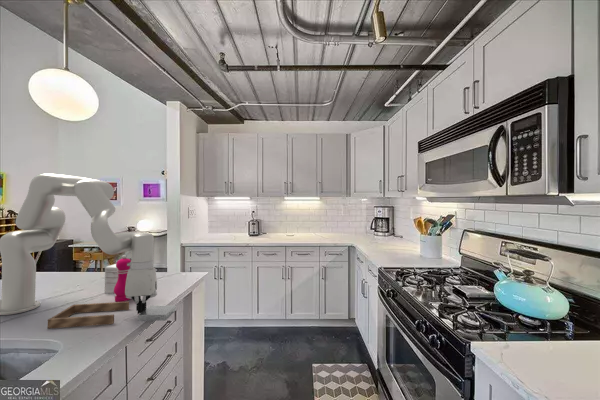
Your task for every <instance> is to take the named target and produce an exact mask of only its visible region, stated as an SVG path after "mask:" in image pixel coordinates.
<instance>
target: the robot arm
mask: <svg viewBox="0 0 600 400" xmlns="http://www.w3.org/2000/svg"><path fill="white" fill-rule="evenodd" d="M113 187H114V186H112V185H111V184H110V183H109V182H108V181H104V180H99V179H94V178H93V179H92V178H88V177H84V176H83V177H82V176H75V175H67V174H57V173H41V174H38V175H35V176H34V177H33V178H32V180H31V181H30V183H29V186H28V190H27V194H26V197H25V199H24V201H23V203H22V205H21V207H20V209H19V211H18V213H17V216H16V218H15V225H16V227H17V228H18V229H20V230H15V231H10V232H7V233H5V234H3V235H2V236H1V237H0V257H1V289H0V290H1V293H0V294H1V295H0V296H1V297H0V316H10V315H15V314H16V315H17V314H21V313H25V312H28V311H29V312H30V311H32V310H34V309H36V308H39V307H40V305H41V301H39V300H36V288H37V287H36V286H37V285H36V284H37V282H36V280H37V278H36V277H37V263H36V260H35V258H34V257H33V256H32V253H37V252H42V251H47V250H50V249H51V248H52V247H54V245H55V244H56V243H57V240H58V238H59V236H60V233H61V232H62V230H63V228H64V225H65V222H66V214H65V212H64V210H63V209H61V208H60V207H57V206H54V205H55V200H56V198H55V196H58V197H60V196H61V197H76V198H77V200H78V201H79V202H80V204H81V205H82V207H83V208H84V209H85V210H86V212H87V214H88V215H89V216H90V218H91V222H90V233H91V237H92V239H93V241H94V242H95V244H97V246H98V247H99V249H100V250H101V251H102V252H103V253H105V254H107V255H112V256H113V255H118V254H122V253H127V252H130V253H131V255H130V258H131V262H130V263H127V266H130V268H131V269H129V270H128V274H127V279H126V286H125V295H126V298H129V299H130V300H132V301H134V303H135V304H136V309H135V310H136V312H137V315H139V314H140V313H141V312H143V311H144V310H145V309H147V301H148V300H149V299H151V298H155V297H156V296H157V295H158V292H157V289H158V281H157V280H158V279H157V278H158V277H157V271H156V268H155V267H154V250H155V249H154V247H155V246H154V245H155V240H154V238H155V237H154V235H153V234H152V233H149V232H148V233H147V232H146V233H145V232H144V233H143V232H141V233H139V232H133V231H128V232H119V233H114V231H113V230H112V228H111V227H110V225H109V223H108V220H109V218H110V217H112V216H113V215H114V214H115V212H116V207H115V205H114V204H113V203H112V201H111V199H112V198H113V197H114V195H115V190H114V188H113Z"/></svg>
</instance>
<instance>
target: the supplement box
mask: <svg viewBox="0 0 600 400" xmlns="http://www.w3.org/2000/svg"><path fill="white" fill-rule="evenodd" d="M117 270H118V268H117V267H116V263H114V264H111V265H107V266H105V267H104V294H114V287H115V285H116V283H117V281H118V273H117Z"/></svg>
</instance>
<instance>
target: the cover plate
mask: <svg viewBox="0 0 600 400" xmlns="http://www.w3.org/2000/svg"><path fill="white" fill-rule="evenodd" d="M176 309H177V306H176V305H150V306H148V307H146V309H145V310H144V311H143V312H141V313H139V314H137V321H138V322H142V321H143V322H144V321H145V322H146V321H147V322H150V321H151V322H153V321H162V322H163V321H166V320H168V319H169V318H170V317H172V315H173V314H174V313H175V312H176Z"/></svg>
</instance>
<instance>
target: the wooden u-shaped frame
mask: <svg viewBox="0 0 600 400" xmlns="http://www.w3.org/2000/svg"><path fill="white" fill-rule="evenodd" d="M128 310H130V301H123V302H116V301H114V302H97V303H80V304H72V305H70V306H69V307H67V308H65V309H64V310H62V311H60V312H59V313H56V314H55V315H53V316H52V317H50V318H48V319H47V327H46V328H47V329H60V328H74V327H87V326H88V327H89V326H101V325H103V326H104V325H113V324H114V323H115V314H102V315H99V314H98V315H87V316H86V315H85V316H84V315H83V316H72V315H74V314H79V313H81V314H82V313H97V312H98V313H99V312H113V311H128Z"/></svg>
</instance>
